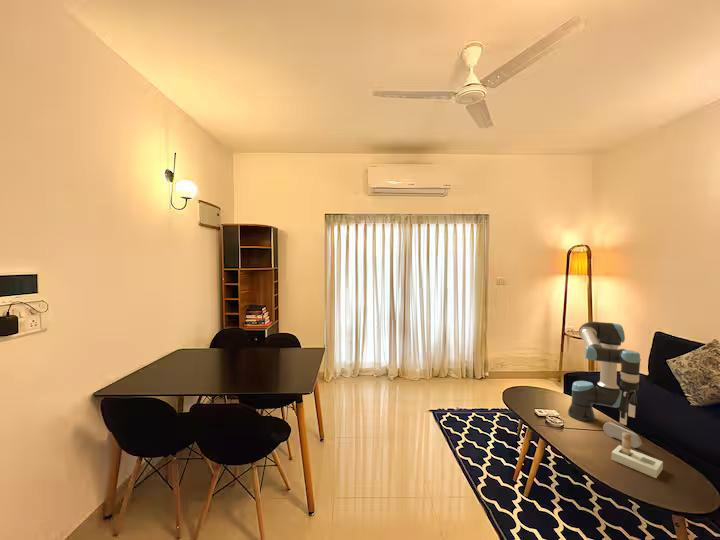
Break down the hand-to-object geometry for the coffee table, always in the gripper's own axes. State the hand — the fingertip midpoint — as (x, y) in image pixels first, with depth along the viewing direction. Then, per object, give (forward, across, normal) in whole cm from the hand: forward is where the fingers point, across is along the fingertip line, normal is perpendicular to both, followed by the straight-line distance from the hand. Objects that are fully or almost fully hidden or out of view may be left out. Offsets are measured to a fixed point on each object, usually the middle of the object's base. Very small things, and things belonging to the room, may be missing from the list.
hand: (627, 420), depth 173 cm
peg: (+21, +1, 0) cm, 21 cm away
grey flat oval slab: (+22, -20, -7) cm, 30 cm away
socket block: (+21, +1, +5) cm, 22 cm away
